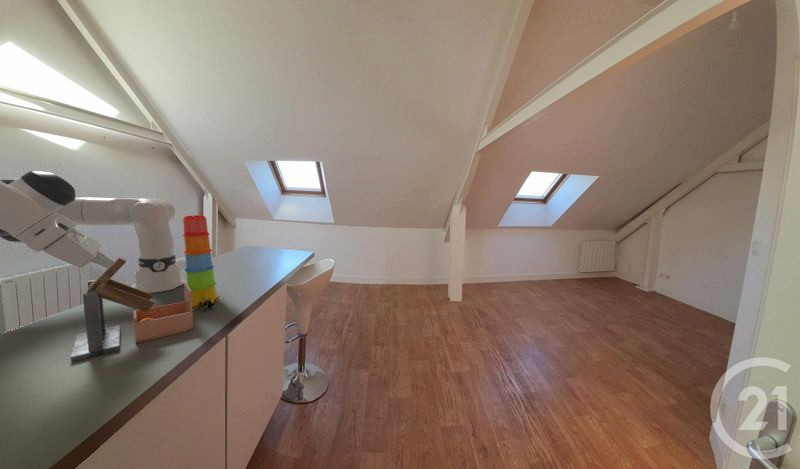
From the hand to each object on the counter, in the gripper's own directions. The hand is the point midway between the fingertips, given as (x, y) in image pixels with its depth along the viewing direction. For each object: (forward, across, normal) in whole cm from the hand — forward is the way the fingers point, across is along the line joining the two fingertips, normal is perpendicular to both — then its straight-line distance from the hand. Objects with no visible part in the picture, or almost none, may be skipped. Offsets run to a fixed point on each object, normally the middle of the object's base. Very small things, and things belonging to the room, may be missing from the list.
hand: (111, 265), depth 75 cm
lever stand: (+13, 0, -18) cm, 23 cm away
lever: (+8, 0, -7) cm, 11 cm away
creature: (+32, -10, 0) cm, 33 cm away
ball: (+18, 0, -9) cm, 21 cm away
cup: (+23, 0, -8) cm, 25 cm away
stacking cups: (+32, -18, 0) cm, 37 cm away
